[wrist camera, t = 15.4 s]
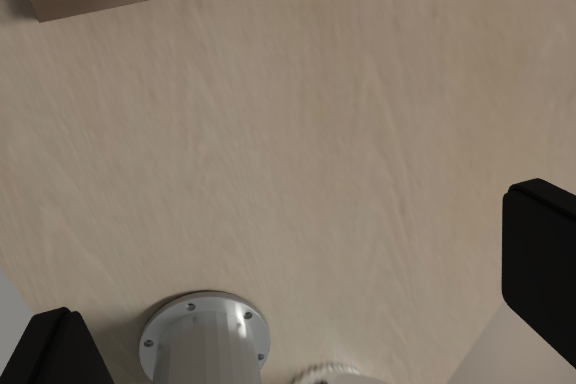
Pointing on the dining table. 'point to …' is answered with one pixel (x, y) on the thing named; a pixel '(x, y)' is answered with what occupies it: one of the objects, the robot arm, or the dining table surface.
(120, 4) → the keyhole board
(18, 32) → the dining table surface
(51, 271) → the dining table surface
